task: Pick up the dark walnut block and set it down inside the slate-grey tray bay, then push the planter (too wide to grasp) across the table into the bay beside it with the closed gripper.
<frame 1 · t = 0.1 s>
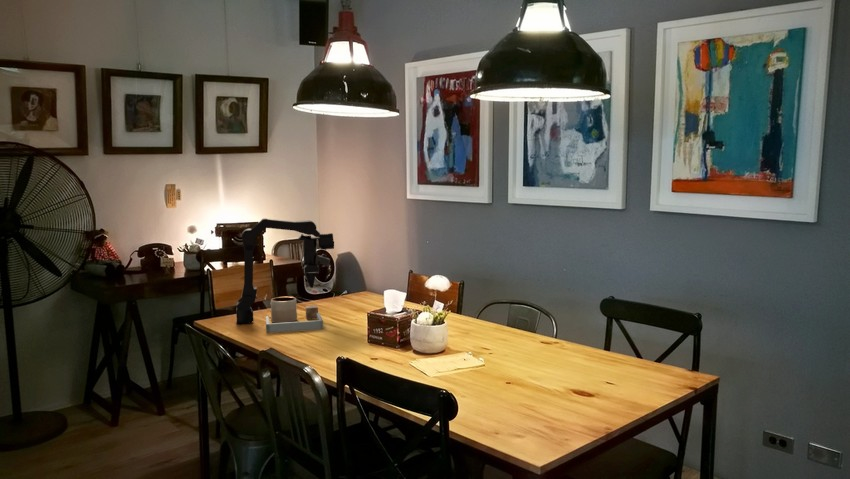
hand: (310, 285, 292), 14 cm above the table, fingers open, 9 cm apart
planter: (284, 321, 290), on the table
walnut block: (312, 317, 295), on the table
tray bay: (294, 326, 279), on the table
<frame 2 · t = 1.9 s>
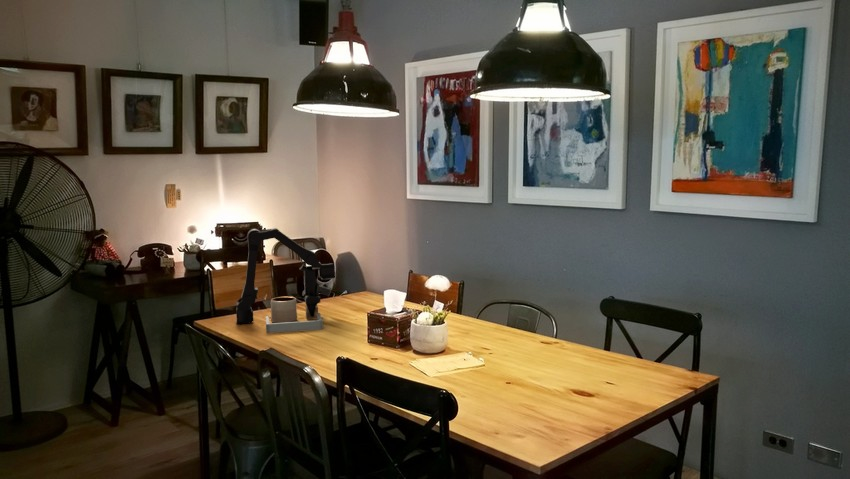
hand: (311, 315, 295), 1 cm above the table, fingers closed on walnut block, 5 cm apart
walnut block: (312, 317, 295), on the table, touching gripper
everything else where it was.
when the fingers open (2 cm above the table, at t = 5.5 s): walnut block drops 2 cm, on the table.
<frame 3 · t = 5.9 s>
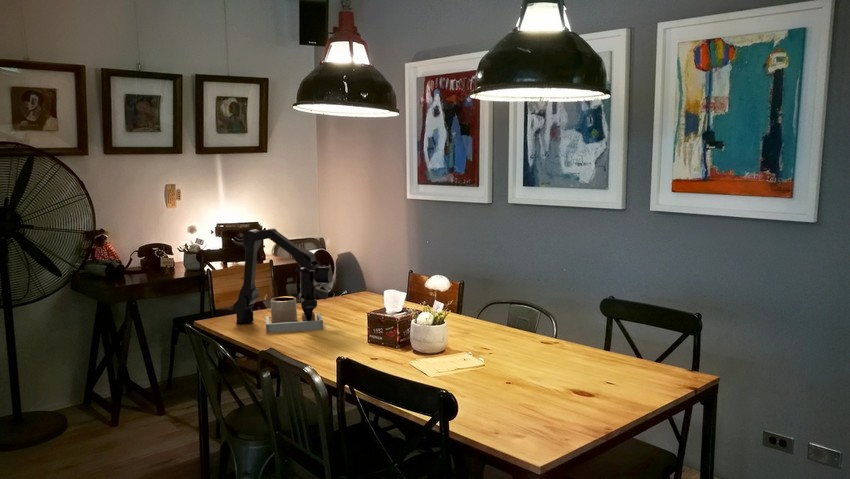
hand: (308, 319, 281), 2 cm above the table, fingers open, 9 cm apart
walnut block: (308, 325, 281), on the table
everything else where it was.
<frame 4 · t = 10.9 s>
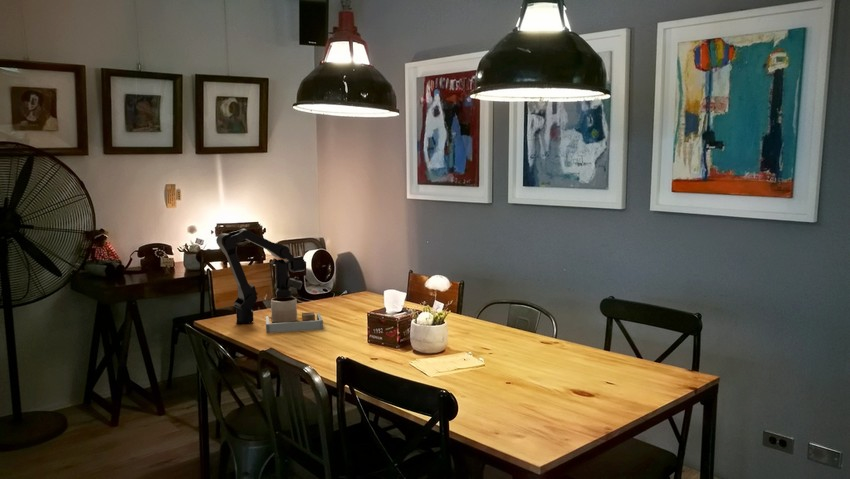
hand: (283, 308, 297), 4 cm above the table, fingers closed
planter: (284, 321, 289), on the table, touching gripper
everything else where it was.
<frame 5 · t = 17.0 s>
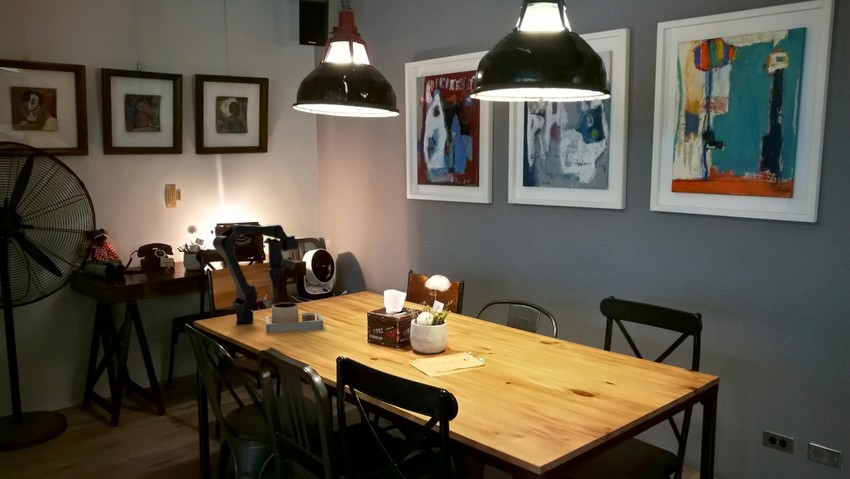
hand: (276, 287, 298), 12 cm above the table, fingers closed
planter: (285, 328, 278), on the table
everything else where it was.
at the end: planter inside the target area (0.6 cm from its centre), on the table; planter tilted 0°; walnut block inside the target area (0.8 cm from its centre), on the table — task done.
